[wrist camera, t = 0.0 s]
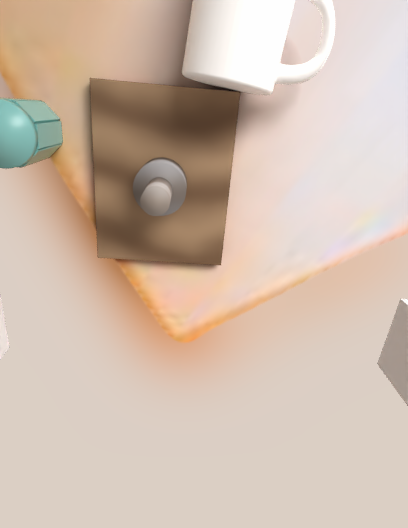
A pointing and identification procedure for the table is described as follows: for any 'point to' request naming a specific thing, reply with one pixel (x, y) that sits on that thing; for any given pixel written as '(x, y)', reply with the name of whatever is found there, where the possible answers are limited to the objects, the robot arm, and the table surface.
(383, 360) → the robot arm
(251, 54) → the mug
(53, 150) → the cap
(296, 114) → the table surface
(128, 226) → the stud board
